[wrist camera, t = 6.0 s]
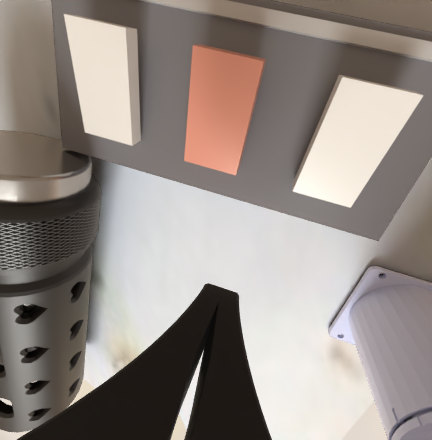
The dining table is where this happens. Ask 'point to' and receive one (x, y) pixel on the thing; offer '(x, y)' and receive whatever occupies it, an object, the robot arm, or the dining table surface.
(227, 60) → the rocker middle
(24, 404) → the muzzle brake
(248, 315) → the dining table surface
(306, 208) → the switch box
